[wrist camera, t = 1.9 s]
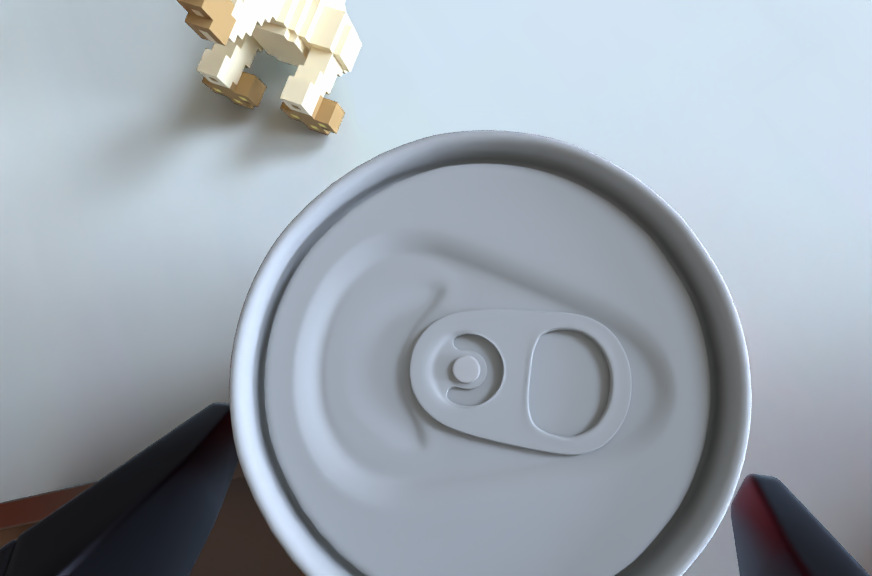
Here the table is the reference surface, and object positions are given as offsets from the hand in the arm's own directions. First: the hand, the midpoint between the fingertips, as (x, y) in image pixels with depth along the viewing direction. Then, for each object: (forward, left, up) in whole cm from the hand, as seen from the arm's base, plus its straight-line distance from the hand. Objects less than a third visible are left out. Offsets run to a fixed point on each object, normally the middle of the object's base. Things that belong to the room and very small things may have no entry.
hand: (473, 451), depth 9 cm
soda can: (+1, -1, -10) cm, 10 cm away
